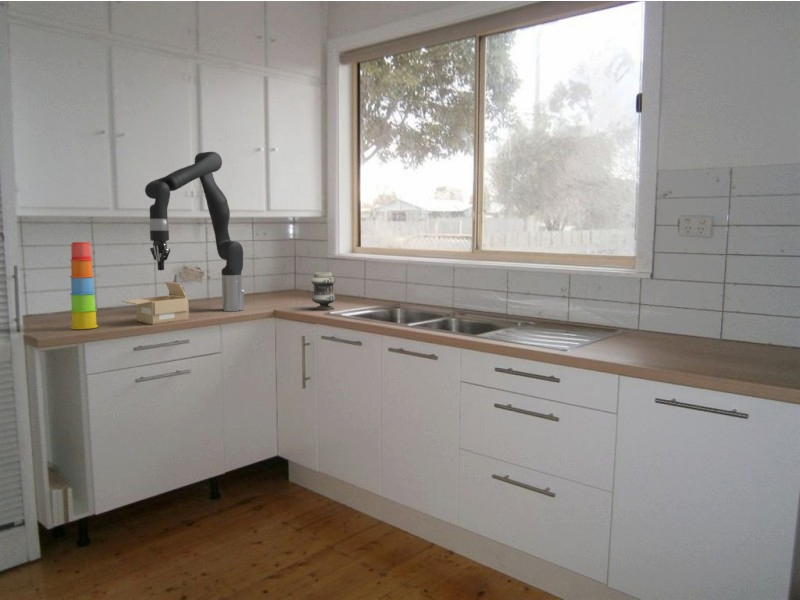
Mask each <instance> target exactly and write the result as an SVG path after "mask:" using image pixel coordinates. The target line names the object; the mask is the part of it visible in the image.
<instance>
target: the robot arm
mask: <svg viewBox="0 0 800 600" xmlns="http://www.w3.org/2000/svg"><path fill="white" fill-rule="evenodd" d="M222 165H223V160H222V157H221V155H220V154H219V153H217V152H215V151H206V152H205V151H204V152H199V153H197V154H196V155H195V156H194V163H193V164H190V165H188V166H187V165H186V166H185V167H182V168H179V169H177V170H175V171H172V172H170V173H169V174H167V175H166V176H164V177H160V178H157V179H154V180H152V181H150V182H148V183H147V184H146V186H145V188H144V193H145V195H146V196H147V197H148V198H149V199H153V200H154V203H153V204H151V205H150V207H149V239H150V241H151V242H153V243H152V247H150V249H149V250H150V253H151V254H152V257H153V260H154V261H156V262H157V271H164V270H165V262H166V261H167V260H168V258H169V255H170V252H171V248H168V244H167V241H170V232H169V231H170V230H169V228H170V227H169V221H168V218H169V217H168V207H169V203H170V197H171V192H174V191H177V190H178V189H180V188H182V187H184V186H185V185H187V184H190V183H191V182H192V181H195V180H197V179H199V180H200V183H201V186H202V190H203V193H204V198H205V200H206V205H207V209H208V213H209V216H210V217H209V218H210V219H211V223H212V224H211V225H212V229H213V232H214V238H215V245H216V251H217V254H218V256H219V258H220V259H222V260H224V261H226V262H225V266H224V267H223V268H222V269H221V290H222V291H221V294H222V311H223V310H224V311H223V312H239V310H240V311H243V309H244V310H245V291H244V289H243V283H242V282H243V281H242V280H243V279H242V270H243V269H244V268H243V267H244V249H243V245H242V244H241V243H240V242H238V241H235V240H233V241H232V240H231V237H230V234H229V221H230V215H231V211H230V208H229V204H228V200H227V197H226V195H225V194H224V192H223V191H222V189H220V187H219V186H218V184H217V183H216V181H215V177H214V174H213V173H216V172H217V171H219V170H220V169H221V168H222Z"/></svg>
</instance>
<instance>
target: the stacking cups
mask: <svg viewBox="0 0 800 600" xmlns="http://www.w3.org/2000/svg"><path fill="white" fill-rule="evenodd" d="M70 245H71V246H70V247H71V248H70V249H71V259H69V261H70V263H71V264H70V266H71V267H70V270H71V273H70V274H71V275H70V276H69V278H70V282H71V283H70V286H71V292H70V293H69V294H70V300H71V309H70V310H69V312H70V313H71V326H70V329H71V330H90V329H97V328H99V325H98V324H97V323H98V322H97V311H98V309H97V308H96V300H95V294H96V292H95V290H94V289H95V288H94V277H95V275H93V262H92V261H93V259H92V246H91V243H90V242H87V241H86V242H81V241H79V242H78V241H77V242H76V241H74V242H73V241H72V242H71V244H70Z"/></svg>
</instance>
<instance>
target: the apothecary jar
mask: <svg viewBox="0 0 800 600" xmlns="http://www.w3.org/2000/svg"><path fill="white" fill-rule="evenodd" d="M310 281H311V284H312V285H313V294H312V295H311V301H312V302H313V303H316V304H319V305H317V306H316V307H314V308H313V309H316V310H315V311H320V310H324V311H332V310H335V307H333V306H332V305H329V304H332V303H334V302H335V301H336V300H337V295H336V294H335V293H334V291H335V290H334V284H336V281H337V279H336V278H335V277H334V276H333V273H332V272H331V271H329V272H328V271H324V272H323V271H321V272H320V271H319V272H314V275H313V277H312V278H311V280H310Z"/></svg>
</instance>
